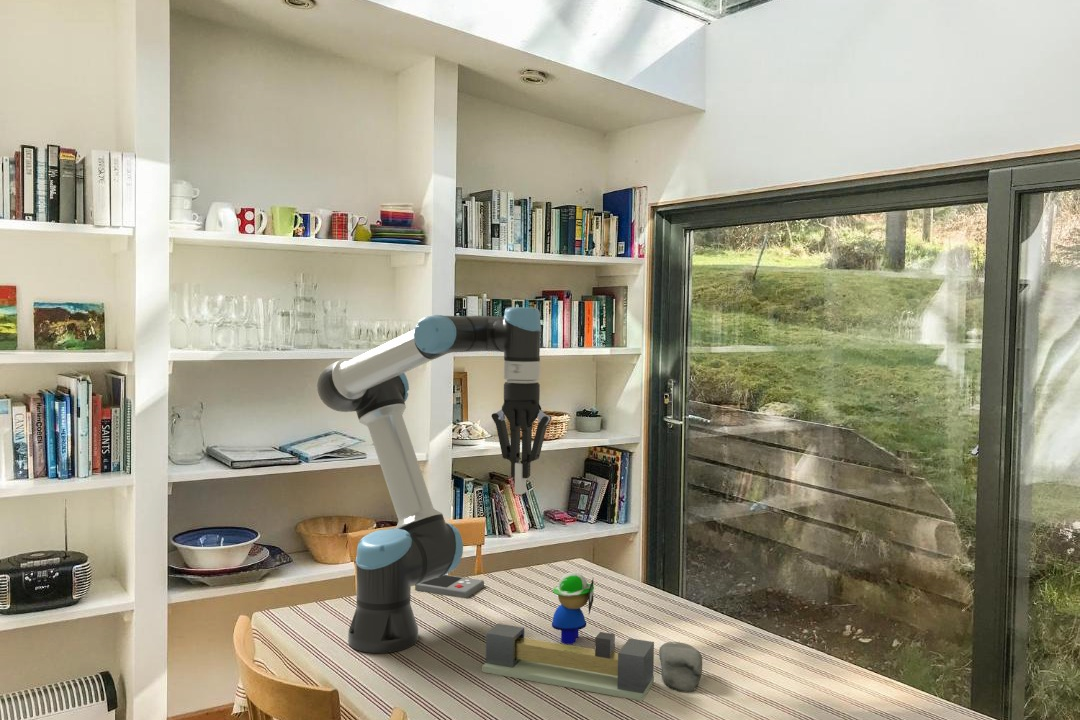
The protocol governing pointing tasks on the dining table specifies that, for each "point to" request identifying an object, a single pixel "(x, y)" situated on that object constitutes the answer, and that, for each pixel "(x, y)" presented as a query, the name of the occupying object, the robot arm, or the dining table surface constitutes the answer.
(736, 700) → the dining table surface
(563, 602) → the toy
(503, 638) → the guide sleeve
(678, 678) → the stone
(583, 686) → the base plank
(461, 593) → the electronic device
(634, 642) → the socket block
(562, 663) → the sliding bolt
